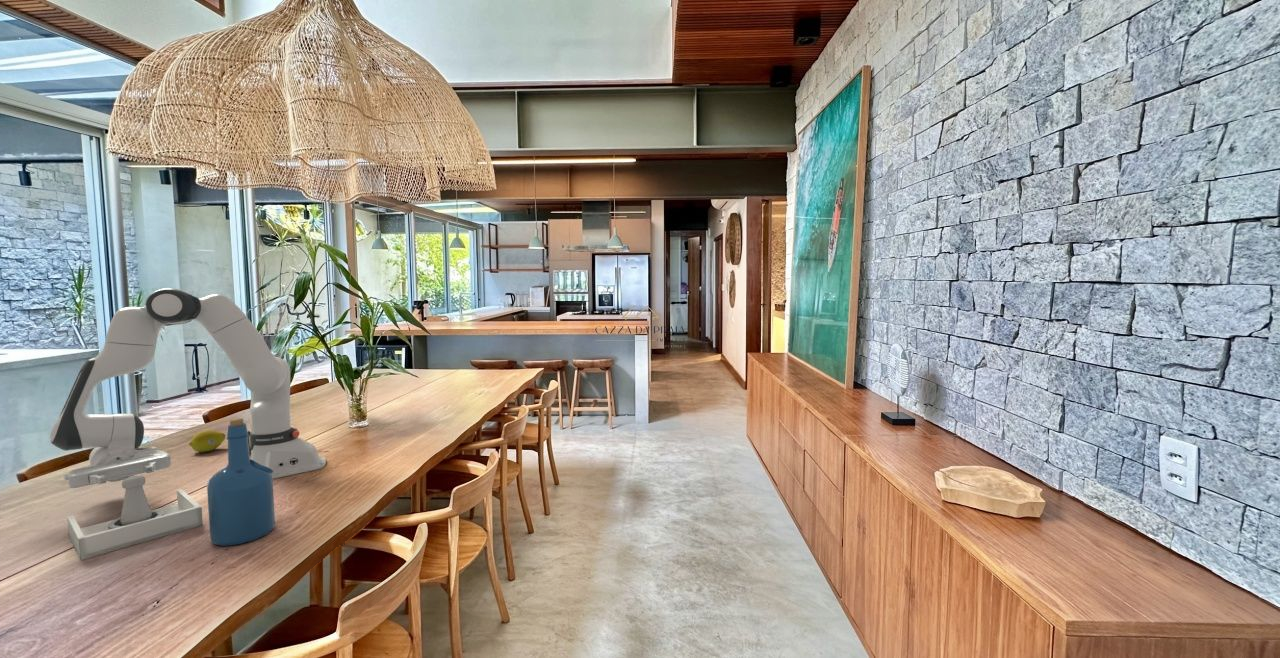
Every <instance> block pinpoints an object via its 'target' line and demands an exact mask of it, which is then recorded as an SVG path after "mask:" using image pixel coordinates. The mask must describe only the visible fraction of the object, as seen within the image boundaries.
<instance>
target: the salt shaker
mask: <svg viewBox="0 0 1280 658" xmlns="http://www.w3.org/2000/svg"><path fill="white" fill-rule="evenodd" d="M145 484H146V477H145V476H143V475H134V476H131V477H129V478H126V479H124V480H122V482H121V487H122V488H123V489H125V490H124V491H125V493H124V497H123V502H122V508H121V509H122V510H121V515H120V517H121V520H120V522H121V524H122V525H123V526H126V525H130V524H133V523H137V522H141V521H145V520H149V519H150V518H151V515H152V512H151V510H152V509H151V507H150V504H149V502H148V499H147V496H146V493H145V490H144V487H143V486H144V485H145Z"/></svg>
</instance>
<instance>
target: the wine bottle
mask: <svg viewBox="0 0 1280 658" xmlns="http://www.w3.org/2000/svg"><path fill="white" fill-rule="evenodd" d="M226 429H227V431H226V436H225V440H227V465H226V466H224V468H222V469H220V470H218V471H216V472H215V473H214V474H212V475H211V476H210V478H209V479H208V481H207V484H206V494H207V495H206V496H207V508H208V509H207V510H208V512H207V513H208V523H209V524H208V525H209V537H210V541H211V543H212V545H217V546H222V547H227V546H234V545H235V546H236V545H242V544H246V543H248V542H253V541H256V540H258V539H260V538H262V537H265V536H267V535H268V534H269V533H270V532H271V531H272V530H273V529H274V528H275V525H276V517H275V516H276V515H275V499H274V482H273V481H274V479H273V478H272V473H273V470H272V469H270V468H268V467H266V466H263V465H260V464H259V463H257V462H255V461H254V460H252V459H251V454H249V446H248V436H249V435H248V431H249V430H248V427H247V423H245V422H244V418H239V417H238V418H232V419H230V420H229V425H227V428H226Z"/></svg>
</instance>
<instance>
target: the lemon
mask: <svg viewBox="0 0 1280 658" xmlns="http://www.w3.org/2000/svg"><path fill="white" fill-rule="evenodd" d="M225 440H226V433H224V432H220V431H217V430H213V429H212V430H211V429H210V430H203V431H200V432H198V433H196V434H195V435H193V437H192V438H191V440H190V441H189V443H188V445H189V446H190V447H191V448H192V449H193V451H195V452H198V453H207V452H212V451H214V450H216V449H218V448H219V447H220V445H221V444H222V443H223V442H224V441H225Z"/></svg>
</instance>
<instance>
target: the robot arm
mask: <svg viewBox="0 0 1280 658" xmlns="http://www.w3.org/2000/svg"><path fill="white" fill-rule="evenodd" d="M192 321H195V322H197V323H199V324H201V325H202V326H203V327H204V329H205V330H206V331H207V332H208V334H209V335H210V336H211V337H212V338H213V340H214V341H215V343H217V345H218V346H219V347H220V348H221V349H222V351H223V352H224V353H225V354H226V356H227V357H228V359H229V361H230V362H231V364H232V365H233V367H234V370H235V371H236V372H237V373H238V375H239V377H240V378H241V380H242V382H243V384H244V385H245V387H246V388H247V389H248V390H249V391H250V392H251V394H250V395H251V396H250V407H249V419H250V420H249V421H250V432H251V433H250V436H249V442H250V449H251V454H250V459H252V460H254V461H255V462H257V463H259V464H260V465H263V466H266V467H268V468H270V469H272V470H273V473H272V478H273V480H274V479H279V478H283V477H288V476H292V475H293V476H294V475H297V474H302V473H307V472H312V471H316V470H320V469H322V468H325V466H326V465H327V460H326V458H325V457H324V456H322V455H319V453H318V449H317V446H315V445H314V444H313V443H311V442H308V441H307V440H305V439H302V438H300V437H299V436H300V431H299V430H298V428H297V427H293V426H292V425H291V407H290V405H291V403H290V402H291V367H290V365H289V363H288V362H287V361H286V360H285V359H283V358H282V357H278V356H275V355H274V354H273V353H272V350H270V347H269V346H268V344H267V343H266V341H265V338H264V337H263V335H262V334H261V333H260V332H259V330H258V329H257V328H256V327H255V324H254V323H252V321H251V320H250V319H249V318H248V317H247V315H246V313H244V311H243V310H242V309H241V308H240V307H238V305H237V304H236V303H235V302H233V301H232V299H230V298H229V297H228V296H227V295H224V294H219V293H218V294H217V293H214V294H209V295H206V296H204V297H200V298H199V297H197V296H194V295H193V294H190V293H189V292H187V291H186V290H183V289H179V288H173V287H172V288H171V287H163V288H160V289H157V290H155V291H153V292H151V294H149V295H148V296H147V298H146V300H145V306H141V307H140V306H126V307H122V308H121V309H118V310H117V311H116V312H114V315H113V317H112V319H111V321H110V323H109V326H108V329H107V332H106V336H105V340H104V344H103V347H102V350H101V351H100V352H99V353H98V354H97V355H96V356H95V357H93V358H88V359H87V360H86V361H85V362H84V363H83V365H82V366H81V368H80V370H79V372H78V374H77V376H76V378H75V381H74V383H73V385H72V388H71V390H70V392H69V394H68V396H67V399H66V401H65V403H64V405H63V408H62V409H61V412H60V414H59V416H58V418H57V420H56V421H55V423H54V424H53V426H52V427H51V430H50V435H49V437H50V438H49V439H50V443H51V444H52V445H53V446H54V447H56V448H58V449H61V450H62V451H73V450H83V449H90V448H93V449H92V450H91V452H90V454H89V456H88V462H89V463H88V464H89V466H84V467H80V468H76V469H73V470H70V471H69V472H68V474H66V475H64V476H63V479H64V481H68V486H69V488H70V489H79V488H83V487H88V486H92V485H96V484H97V485H102V484H105V483H107V482H109V483H115V482H121V481H123V480H124V479H126V478H129V477H132V476H138V475H141V474H151V473H154V472H155V471H160V470H163V469H168V468H170V467H171V466H172V459H171V458H172V457H171V454H169V453H168V452H166V451H164V450H159V449H158V447H156V446H151V447H150V446H149V447H148V446H147V447H140V446H141V445H142V444H143V441H144V436H145V435H144V434H145V427H144V423H143V421H142V420H141V418H140V417H138V415H136V414H134V413H102V414H101V413H100V414H99V413H96V414H95V413H92V414H88V413H85V410H86V406H87V404H88V402H89V400H90V397H91V395H92V393H93V390H94V389H95V387H96V386H97V385H98V384H100V383H101V382H103V381H106V380H108V379H112V378H116V377H119V376H125V375H129V374H132V373H136V372H138V371H140V370H143V369H144V368H147V366H149V365H150V364H151V363H152V361H153V359H154V356H155V353H156V350H157V349H156V348H157V343H158V336H159V333H160V331H161V329H162V328H164V327H169V326H175V325H183V324H184V325H185V324H186V323H190V322H192Z"/></svg>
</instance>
